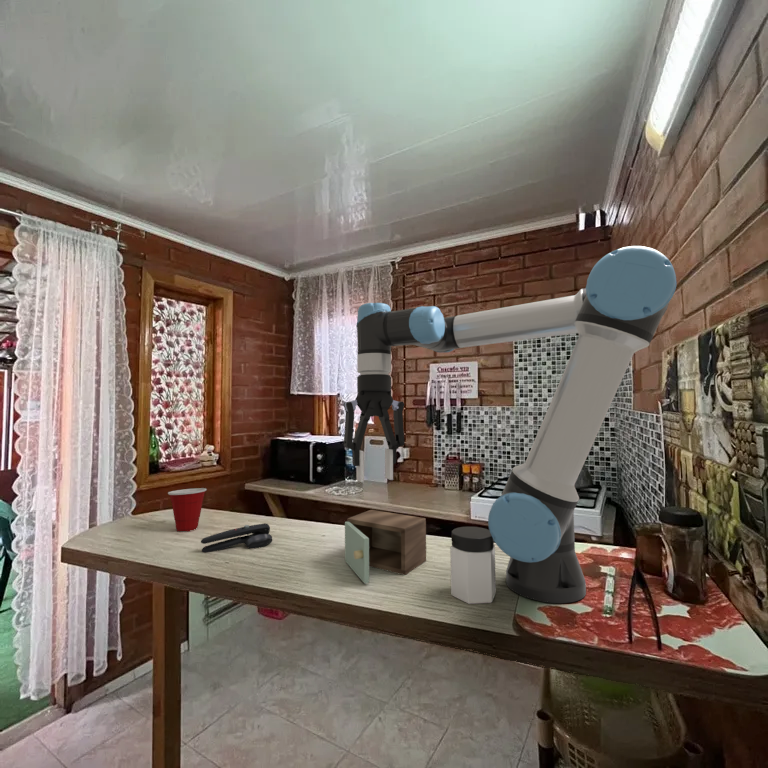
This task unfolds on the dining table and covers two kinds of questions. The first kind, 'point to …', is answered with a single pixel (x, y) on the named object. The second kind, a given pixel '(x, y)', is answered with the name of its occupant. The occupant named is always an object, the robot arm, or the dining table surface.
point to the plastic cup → (187, 507)
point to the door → (357, 551)
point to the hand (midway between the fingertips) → (374, 479)
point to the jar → (473, 565)
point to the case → (393, 540)
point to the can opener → (240, 538)
